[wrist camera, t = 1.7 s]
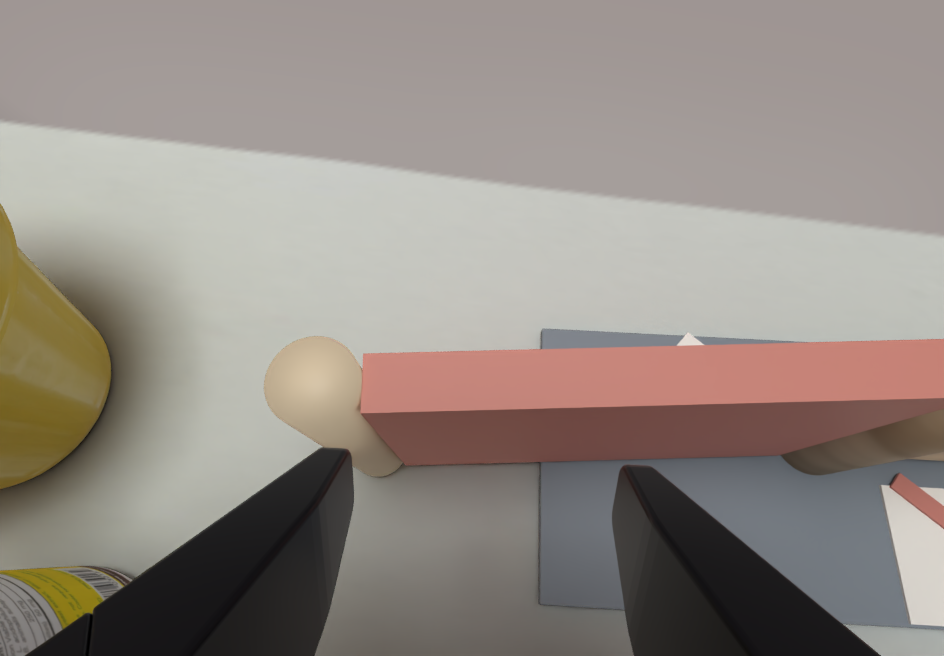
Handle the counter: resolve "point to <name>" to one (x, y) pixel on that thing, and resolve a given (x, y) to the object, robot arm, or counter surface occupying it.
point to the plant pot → (43, 368)
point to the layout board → (760, 519)
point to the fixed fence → (875, 446)
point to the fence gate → (598, 399)
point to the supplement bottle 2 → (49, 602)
